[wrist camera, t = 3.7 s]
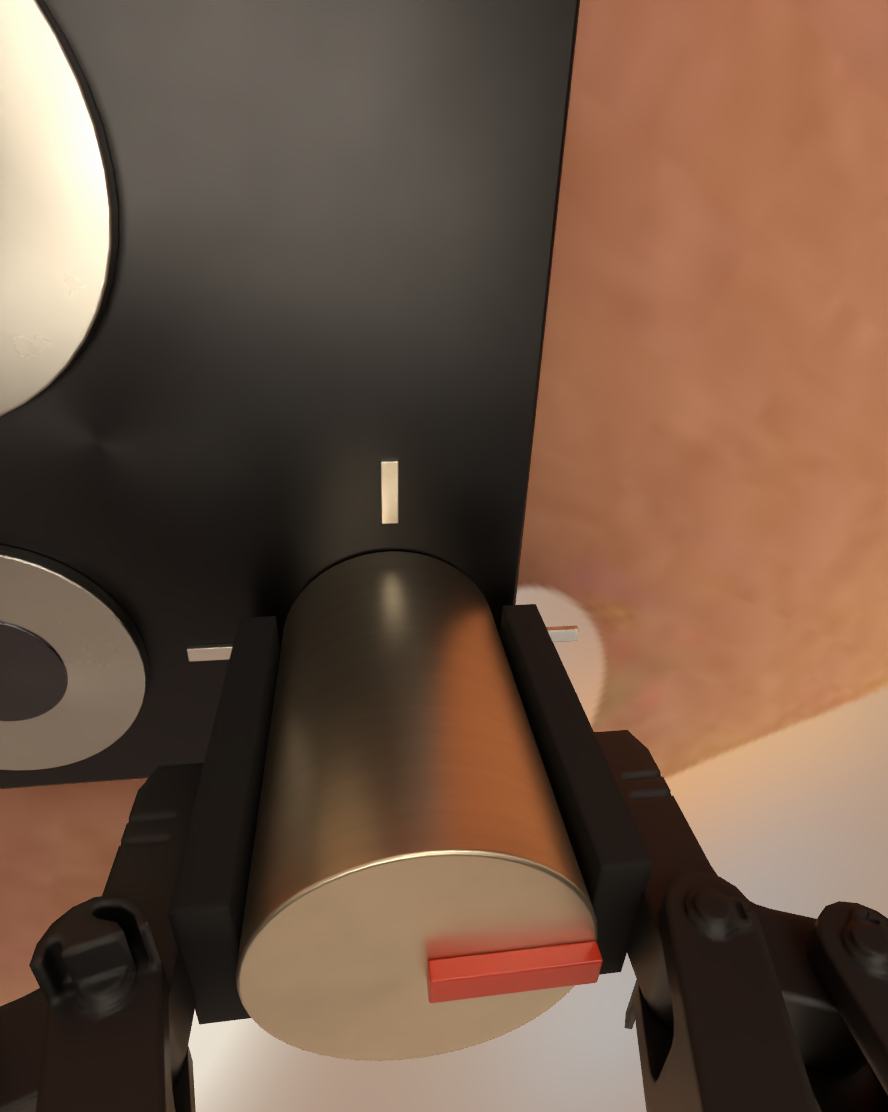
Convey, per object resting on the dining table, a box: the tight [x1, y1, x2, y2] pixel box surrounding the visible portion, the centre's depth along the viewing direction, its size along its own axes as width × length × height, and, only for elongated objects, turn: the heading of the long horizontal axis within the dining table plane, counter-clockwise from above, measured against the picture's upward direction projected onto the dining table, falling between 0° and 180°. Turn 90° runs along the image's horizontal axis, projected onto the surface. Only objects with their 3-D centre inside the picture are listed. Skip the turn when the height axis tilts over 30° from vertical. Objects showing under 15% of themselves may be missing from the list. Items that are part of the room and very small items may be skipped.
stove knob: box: [236, 551, 603, 1061], centre depth 12 cm, size 5×5×8 cm
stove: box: [0, 0, 580, 789], centre depth 14 cm, size 19×19×3 cm
